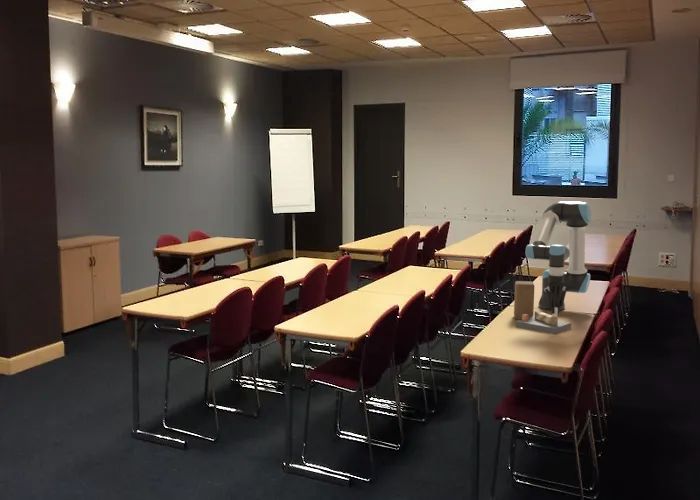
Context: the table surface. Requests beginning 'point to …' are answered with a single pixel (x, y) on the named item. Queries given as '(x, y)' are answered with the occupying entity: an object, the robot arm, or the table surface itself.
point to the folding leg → (546, 318)
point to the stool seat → (542, 325)
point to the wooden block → (523, 299)
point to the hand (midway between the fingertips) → (554, 319)
